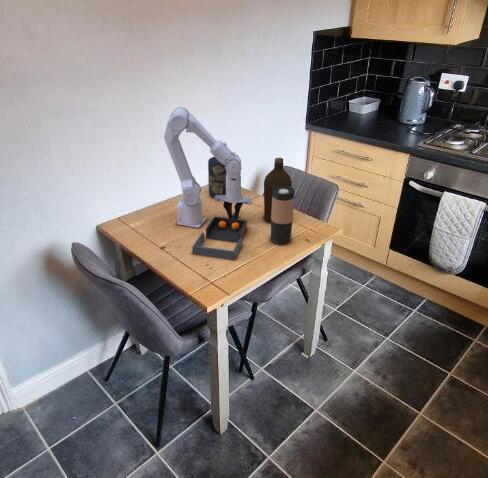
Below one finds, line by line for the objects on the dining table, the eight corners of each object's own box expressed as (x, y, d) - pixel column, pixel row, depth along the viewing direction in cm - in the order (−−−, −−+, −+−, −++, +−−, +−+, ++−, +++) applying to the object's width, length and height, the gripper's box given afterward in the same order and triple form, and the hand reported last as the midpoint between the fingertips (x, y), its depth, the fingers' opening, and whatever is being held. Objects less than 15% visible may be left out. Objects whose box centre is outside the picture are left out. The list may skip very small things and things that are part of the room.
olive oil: (264, 225, 168) (267, 164, 155) (260, 213, 177) (262, 154, 165) (291, 224, 168) (296, 163, 156) (286, 212, 178) (290, 153, 165)
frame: (202, 239, 159) (201, 232, 158) (242, 244, 155) (242, 237, 154) (192, 253, 151) (192, 246, 149) (234, 259, 147) (234, 252, 145)
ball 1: (216, 226, 164) (218, 219, 165) (218, 229, 166) (220, 222, 168) (224, 226, 163) (225, 219, 164) (226, 230, 165) (227, 223, 166)
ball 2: (229, 227, 162) (231, 220, 164) (231, 231, 165) (233, 224, 166) (237, 227, 161) (239, 221, 163) (239, 231, 164) (240, 225, 165)
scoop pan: (240, 242, 157) (240, 233, 155) (206, 238, 160) (205, 229, 158) (251, 219, 172) (251, 211, 170) (220, 216, 176) (220, 207, 174)
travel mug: (285, 247, 153) (289, 196, 143) (266, 242, 157) (268, 191, 147) (294, 238, 159) (298, 188, 149) (275, 233, 162) (278, 183, 152)
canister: (207, 198, 190) (205, 159, 181) (210, 190, 199) (209, 152, 190) (228, 200, 189) (228, 160, 180) (231, 191, 197) (231, 153, 188)
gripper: (254, 185, 165) (253, 216, 172) (218, 181, 169) (218, 212, 175) (250, 192, 159) (249, 224, 166) (212, 188, 163) (213, 220, 169)
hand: (233, 219), depth 170 cm, fingers closed
